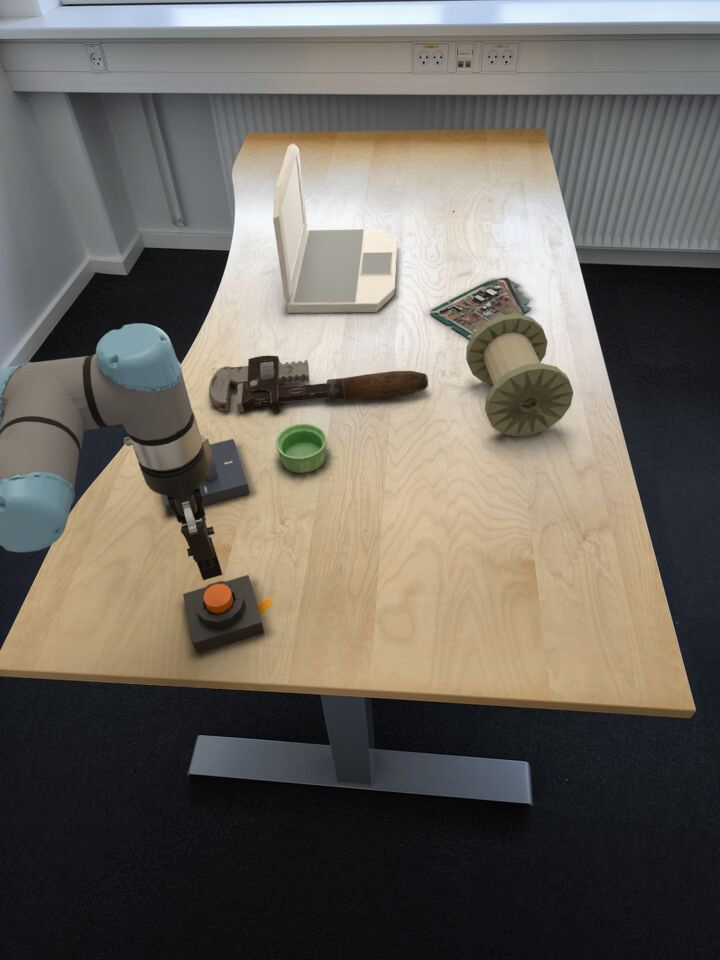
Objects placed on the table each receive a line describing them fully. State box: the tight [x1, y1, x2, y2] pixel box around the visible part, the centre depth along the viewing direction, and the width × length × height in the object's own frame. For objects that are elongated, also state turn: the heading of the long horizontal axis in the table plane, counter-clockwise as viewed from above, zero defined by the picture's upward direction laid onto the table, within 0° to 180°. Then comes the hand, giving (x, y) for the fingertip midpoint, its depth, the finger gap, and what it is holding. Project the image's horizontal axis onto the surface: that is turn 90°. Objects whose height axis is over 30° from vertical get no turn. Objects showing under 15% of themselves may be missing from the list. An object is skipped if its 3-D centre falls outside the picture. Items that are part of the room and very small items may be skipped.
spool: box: [465, 314, 574, 438], centre depth 133 cm, size 16×15×15 cm
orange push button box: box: [182, 574, 265, 654], centre depth 107 cm, size 10×9×4 cm
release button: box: [204, 584, 233, 614], centre depth 105 cm, size 4×4×2 cm
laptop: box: [272, 143, 398, 314], centre depth 165 cm, size 33×24×26 cm
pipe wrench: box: [208, 355, 429, 413], centre depth 143 cm, size 43×13×5 cm, turn 93°
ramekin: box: [275, 423, 328, 474], centre depth 130 cm, size 9×9×4 cm
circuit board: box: [429, 276, 532, 340], centre depth 161 cm, size 23×15×1 cm, turn 128°
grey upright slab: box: [200, 432, 218, 482], centre depth 124 cm, size 7×2×9 cm, turn 48°
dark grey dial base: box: [163, 438, 251, 516], centre depth 128 cm, size 14×12×3 cm
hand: (211, 573), depth 101 cm, fingers closed
